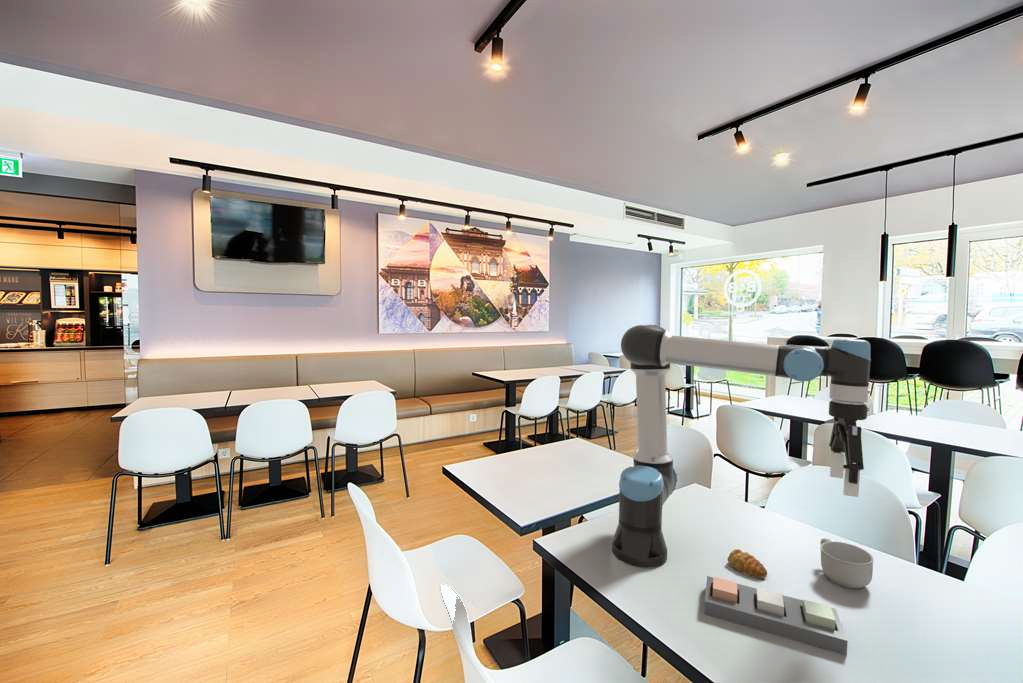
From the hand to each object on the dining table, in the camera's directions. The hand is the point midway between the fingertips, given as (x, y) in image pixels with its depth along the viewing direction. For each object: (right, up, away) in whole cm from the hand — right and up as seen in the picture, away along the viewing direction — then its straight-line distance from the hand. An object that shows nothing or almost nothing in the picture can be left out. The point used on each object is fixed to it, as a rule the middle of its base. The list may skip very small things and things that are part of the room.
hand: (843, 486), depth 109 cm
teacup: (+3, -26, +5) cm, 26 cm away
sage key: (-17, -24, -16) cm, 33 cm away
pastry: (-20, -25, +8) cm, 33 cm away
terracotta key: (-33, -23, -8) cm, 41 cm away
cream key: (-25, -23, -12) cm, 36 cm away
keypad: (-25, -26, -12) cm, 38 cm away
